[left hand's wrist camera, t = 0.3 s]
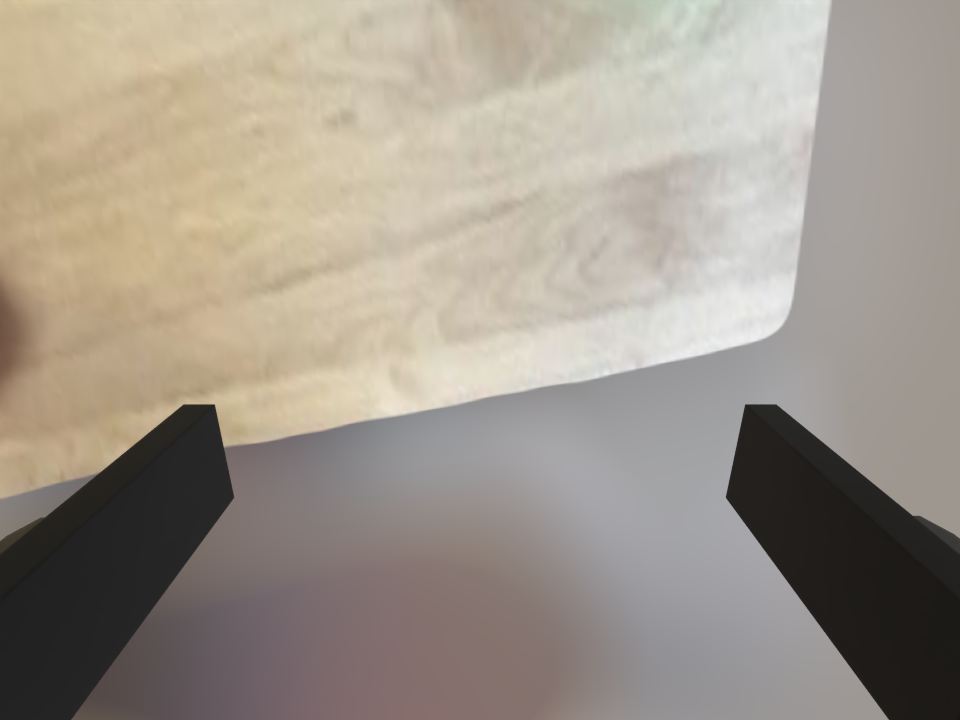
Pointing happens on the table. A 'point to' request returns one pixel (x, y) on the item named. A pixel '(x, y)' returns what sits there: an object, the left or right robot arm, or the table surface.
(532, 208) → the table surface
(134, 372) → the table surface
